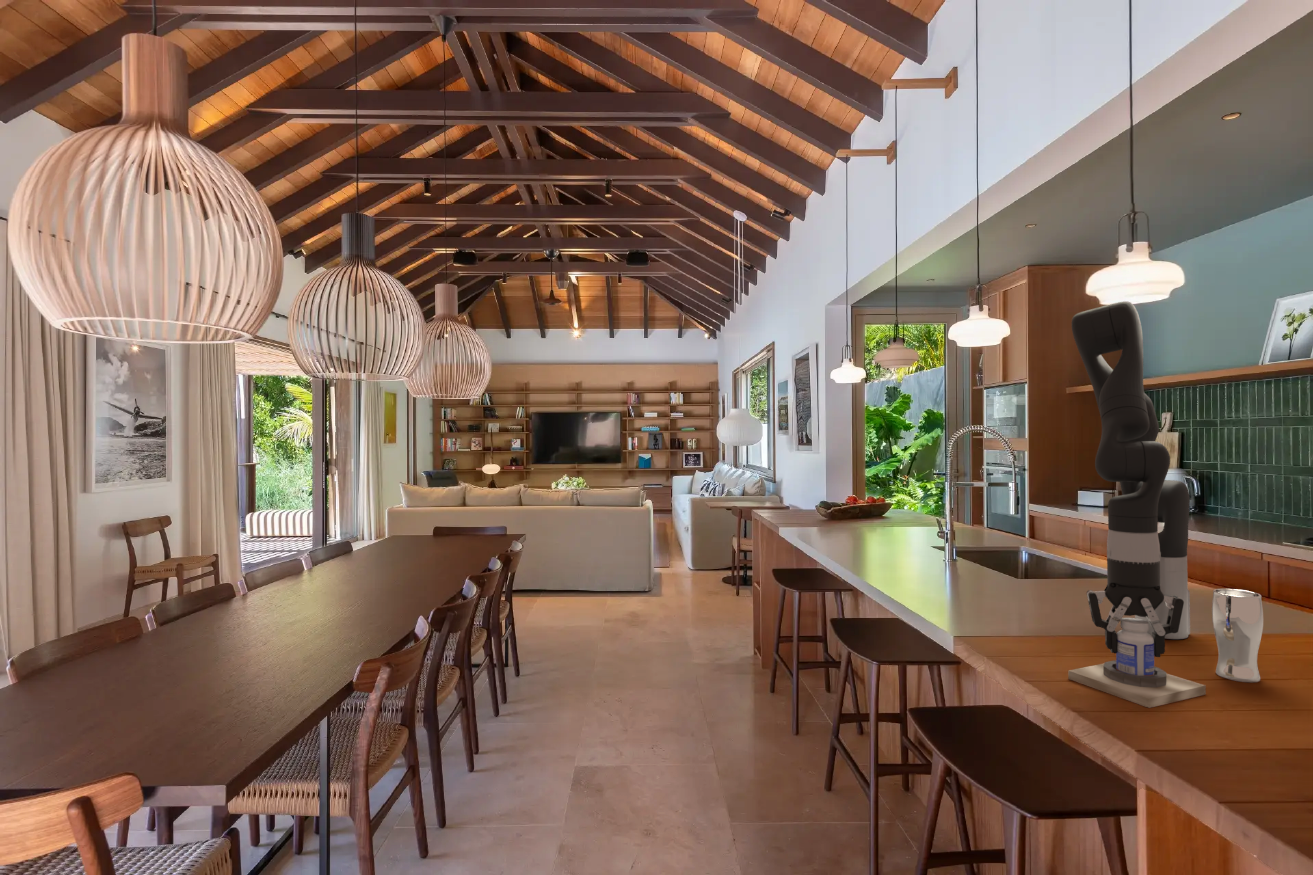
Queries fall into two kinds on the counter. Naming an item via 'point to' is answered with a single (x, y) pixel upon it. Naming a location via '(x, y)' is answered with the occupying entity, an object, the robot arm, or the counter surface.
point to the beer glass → (1237, 633)
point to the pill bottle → (1135, 648)
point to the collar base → (1138, 692)
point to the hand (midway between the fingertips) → (1134, 653)
